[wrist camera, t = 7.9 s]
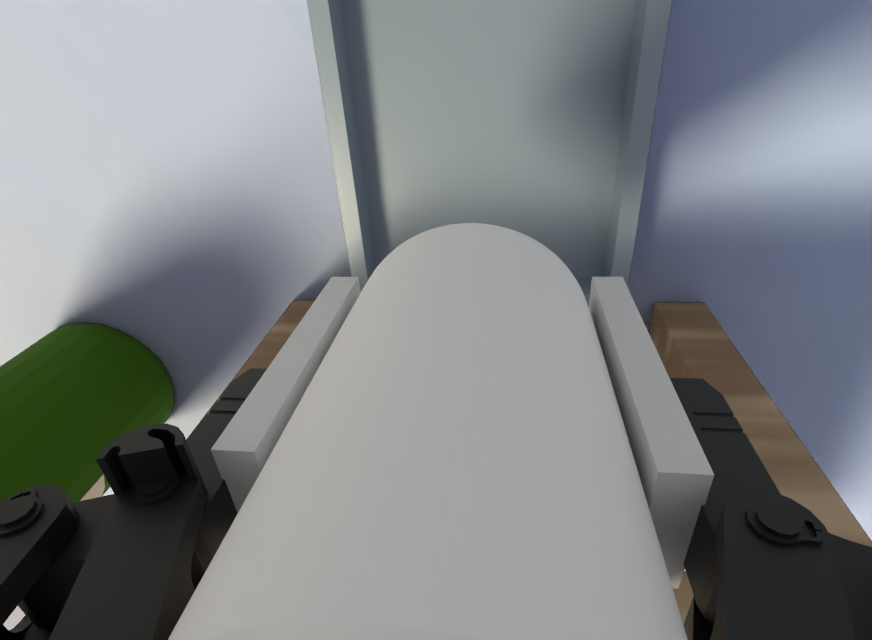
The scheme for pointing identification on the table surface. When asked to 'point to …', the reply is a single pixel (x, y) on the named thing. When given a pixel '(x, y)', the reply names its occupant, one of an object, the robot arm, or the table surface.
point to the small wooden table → (725, 371)
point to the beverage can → (449, 471)
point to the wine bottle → (75, 407)
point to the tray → (491, 121)
